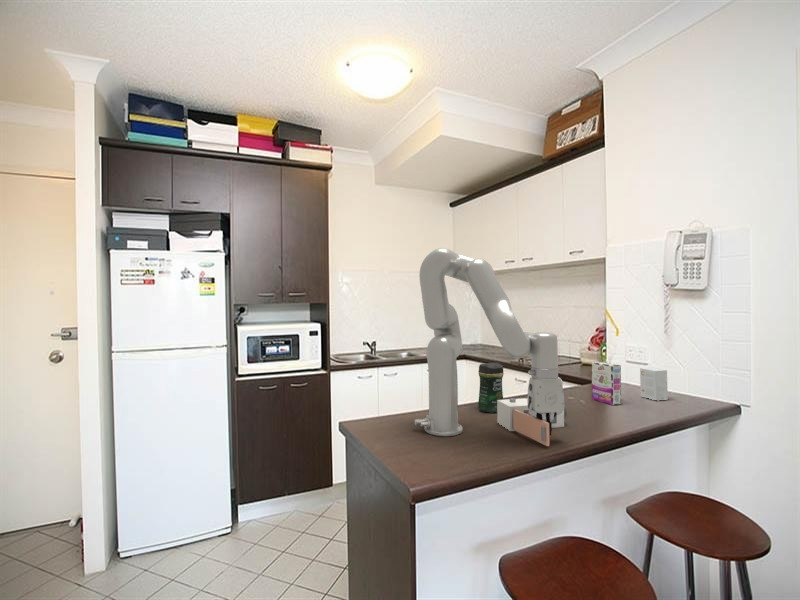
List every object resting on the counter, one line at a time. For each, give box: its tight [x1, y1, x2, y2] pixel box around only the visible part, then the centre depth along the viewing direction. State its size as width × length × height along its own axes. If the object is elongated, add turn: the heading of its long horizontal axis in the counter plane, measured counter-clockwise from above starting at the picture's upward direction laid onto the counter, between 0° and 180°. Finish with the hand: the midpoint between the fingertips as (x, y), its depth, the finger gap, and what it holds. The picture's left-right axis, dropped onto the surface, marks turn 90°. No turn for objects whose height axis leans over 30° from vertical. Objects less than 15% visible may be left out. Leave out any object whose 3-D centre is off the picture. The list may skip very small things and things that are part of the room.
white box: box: [496, 397, 567, 432], centre depth 132 cm, size 22×9×9 cm, turn 102°
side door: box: [512, 409, 550, 447], centre depth 117 cm, size 16×2×6 cm, turn 20°
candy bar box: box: [591, 361, 622, 406], centre depth 162 cm, size 11×5×16 cm, turn 17°
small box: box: [639, 367, 669, 401], centre depth 167 cm, size 8×6×13 cm
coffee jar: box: [477, 362, 505, 413], centre depth 150 cm, size 10×8×19 cm
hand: (545, 434), depth 115 cm, fingers closed
